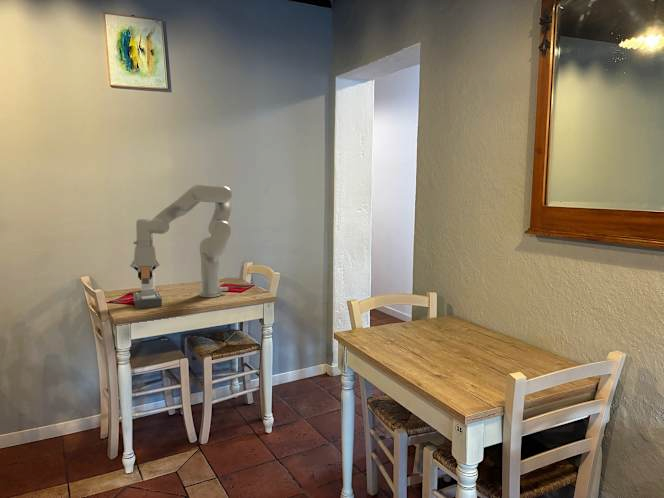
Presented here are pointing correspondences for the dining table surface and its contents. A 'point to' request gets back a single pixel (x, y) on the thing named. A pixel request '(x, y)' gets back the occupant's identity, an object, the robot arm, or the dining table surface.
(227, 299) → the dining table surface
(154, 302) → the grey sliding cover box
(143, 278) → the tan rectangular block
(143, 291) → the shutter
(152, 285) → the white cup
